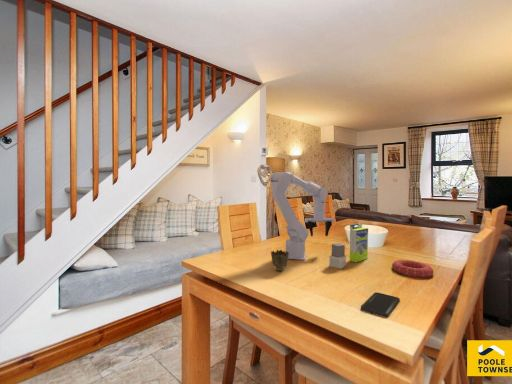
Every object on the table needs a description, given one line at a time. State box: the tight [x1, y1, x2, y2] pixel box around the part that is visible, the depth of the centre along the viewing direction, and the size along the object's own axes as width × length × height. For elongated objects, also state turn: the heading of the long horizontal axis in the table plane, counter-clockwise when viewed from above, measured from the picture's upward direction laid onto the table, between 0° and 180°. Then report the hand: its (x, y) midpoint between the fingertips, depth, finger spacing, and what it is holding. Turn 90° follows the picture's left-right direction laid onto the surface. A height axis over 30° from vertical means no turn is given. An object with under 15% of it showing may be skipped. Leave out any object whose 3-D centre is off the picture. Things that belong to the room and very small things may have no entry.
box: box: [349, 222, 369, 263], centre depth 135 cm, size 10×4×17 cm, turn 128°
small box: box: [328, 254, 347, 269], centre depth 125 cm, size 6×6×5 cm
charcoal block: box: [331, 243, 346, 257], centre depth 125 cm, size 4×4×5 cm
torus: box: [391, 259, 434, 279], centre depth 117 cm, size 16×14×4 cm
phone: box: [360, 291, 401, 318], centre depth 86 cm, size 8×1×15 cm
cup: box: [270, 249, 289, 272], centre depth 119 cm, size 8×7×8 cm
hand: (319, 235), depth 145 cm, fingers open, 7 cm apart
